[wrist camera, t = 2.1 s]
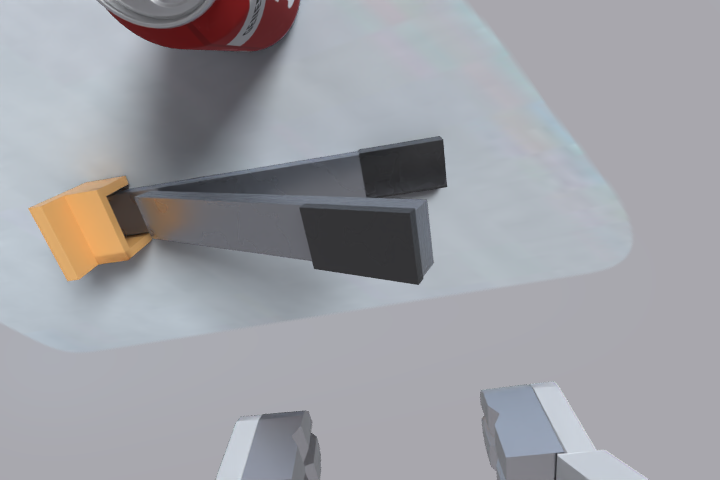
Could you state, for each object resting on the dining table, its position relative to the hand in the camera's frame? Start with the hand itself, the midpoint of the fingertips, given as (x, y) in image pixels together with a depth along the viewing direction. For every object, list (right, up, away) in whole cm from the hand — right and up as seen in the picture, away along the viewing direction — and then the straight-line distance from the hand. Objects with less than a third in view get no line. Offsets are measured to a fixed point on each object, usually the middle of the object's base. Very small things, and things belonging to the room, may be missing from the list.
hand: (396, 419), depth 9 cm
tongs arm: (-6, +5, +14) cm, 16 cm away
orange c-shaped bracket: (-18, +6, +21) cm, 28 cm away
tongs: (-9, +8, +20) cm, 23 cm away
